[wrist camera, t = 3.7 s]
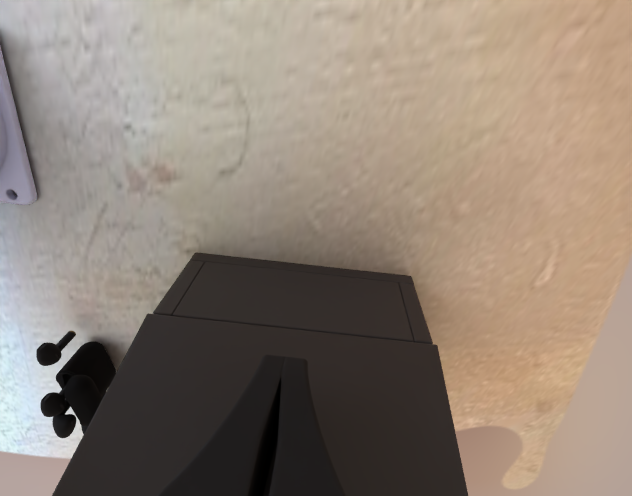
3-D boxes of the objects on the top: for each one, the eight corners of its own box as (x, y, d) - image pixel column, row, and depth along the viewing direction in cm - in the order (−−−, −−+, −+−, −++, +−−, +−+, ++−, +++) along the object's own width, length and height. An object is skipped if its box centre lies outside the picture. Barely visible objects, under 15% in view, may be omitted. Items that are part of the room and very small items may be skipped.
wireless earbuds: (68, 311, 23) (2, 375, 18) (107, 307, 22) (50, 371, 18) (113, 396, 26) (66, 468, 21) (148, 393, 26) (108, 466, 21)
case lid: (528, 840, 7) (543, 848, 7) (-80, 774, 7) (-99, 779, 7) (433, 353, 16) (437, 344, 15) (150, 322, 16) (147, 312, 15)
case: (378, 407, 25) (388, 490, 20) (202, 388, 25) (171, 466, 20) (411, 275, 20) (433, 342, 16) (194, 252, 20) (152, 312, 16)
